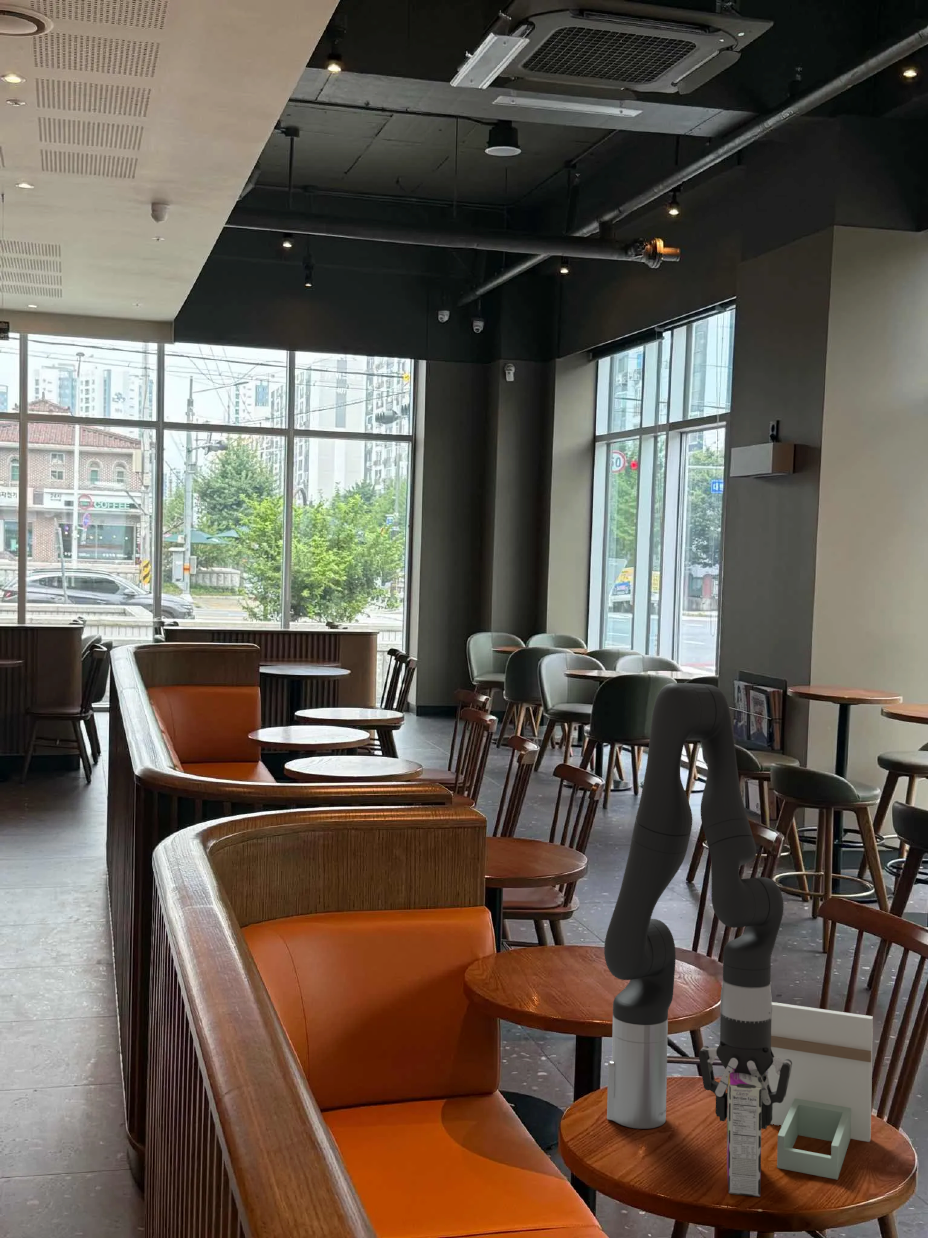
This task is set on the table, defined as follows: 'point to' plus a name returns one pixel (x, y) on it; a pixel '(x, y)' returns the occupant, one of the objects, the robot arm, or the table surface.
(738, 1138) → the candy bar box
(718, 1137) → the table surface
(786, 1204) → the table surface
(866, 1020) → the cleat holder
